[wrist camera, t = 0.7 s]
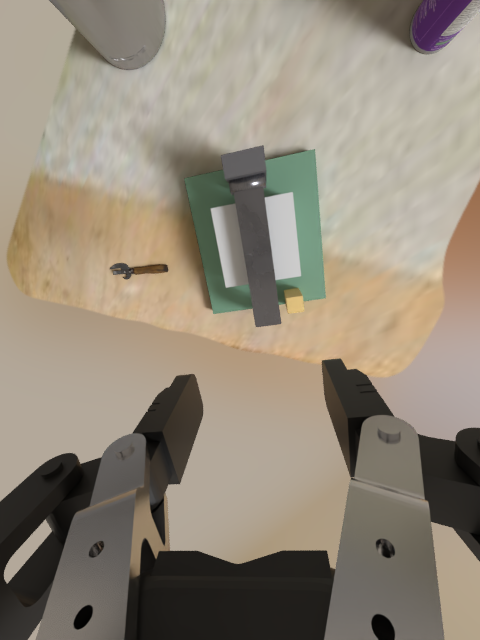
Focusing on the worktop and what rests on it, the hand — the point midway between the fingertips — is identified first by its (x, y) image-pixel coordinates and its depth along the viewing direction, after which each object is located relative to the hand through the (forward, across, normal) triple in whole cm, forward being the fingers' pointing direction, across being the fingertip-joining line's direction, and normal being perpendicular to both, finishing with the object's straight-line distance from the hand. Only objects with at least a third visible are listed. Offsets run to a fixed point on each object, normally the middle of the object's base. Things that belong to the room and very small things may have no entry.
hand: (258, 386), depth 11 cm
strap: (+25, 0, -4) cm, 25 cm away
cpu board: (+27, 0, -5) cm, 28 cm away
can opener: (+28, +18, -4) cm, 34 cm away
